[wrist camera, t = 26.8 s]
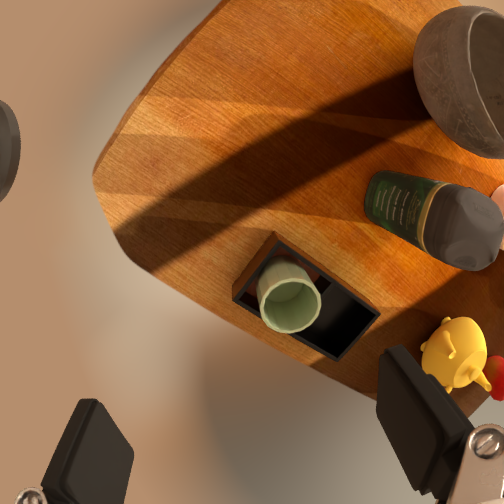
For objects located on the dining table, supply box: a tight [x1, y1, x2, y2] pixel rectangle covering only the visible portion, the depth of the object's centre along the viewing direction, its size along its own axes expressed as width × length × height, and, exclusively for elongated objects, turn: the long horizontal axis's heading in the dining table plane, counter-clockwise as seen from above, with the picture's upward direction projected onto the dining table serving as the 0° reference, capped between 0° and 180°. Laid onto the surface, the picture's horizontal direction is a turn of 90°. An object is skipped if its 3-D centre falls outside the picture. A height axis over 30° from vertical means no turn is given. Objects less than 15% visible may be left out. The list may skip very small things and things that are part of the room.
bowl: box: [413, 6, 504, 159], centre depth 28 cm, size 21×21×15 cm
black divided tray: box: [232, 231, 381, 362], centre depth 41 cm, size 18×9×5 cm, turn 54°
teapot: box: [421, 317, 492, 394], centre depth 44 cm, size 20×15×12 cm
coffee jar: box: [364, 170, 504, 271], centre depth 32 cm, size 10×8×19 cm
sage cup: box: [255, 255, 321, 333], centre depth 38 cm, size 7×7×8 cm
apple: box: [482, 356, 504, 401], centre depth 47 cm, size 9×8×12 cm
